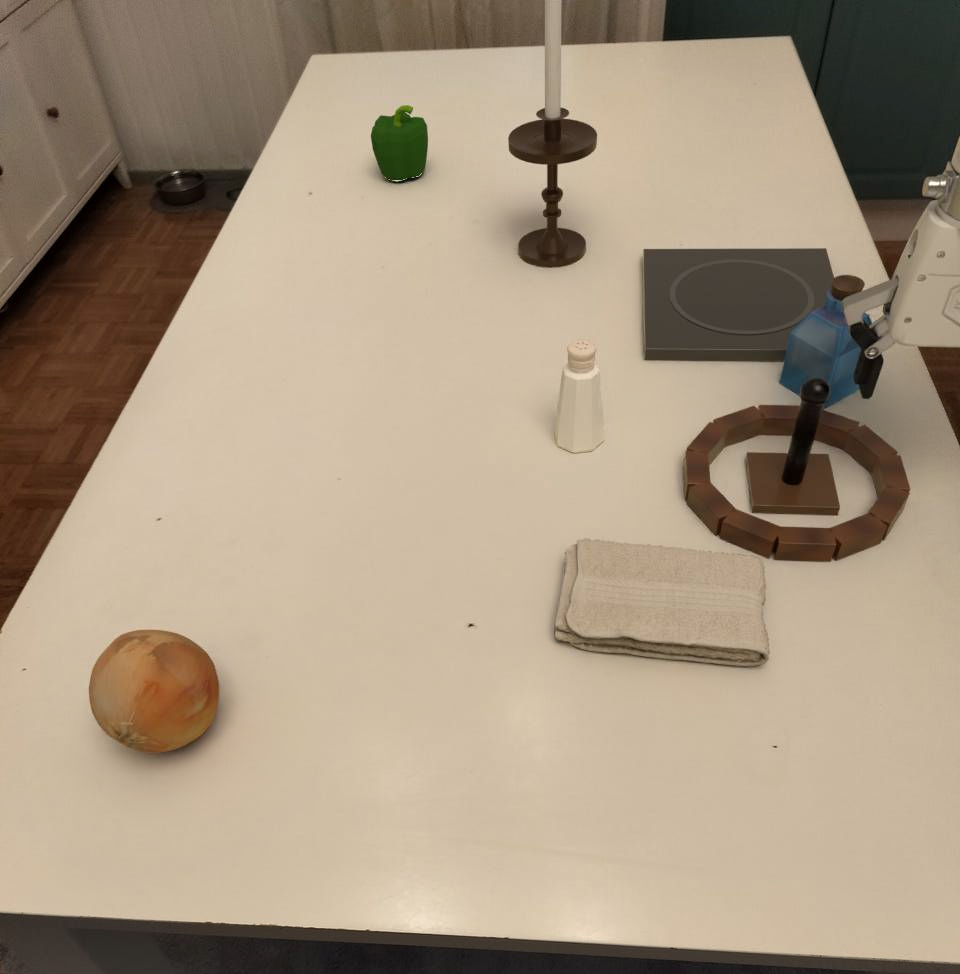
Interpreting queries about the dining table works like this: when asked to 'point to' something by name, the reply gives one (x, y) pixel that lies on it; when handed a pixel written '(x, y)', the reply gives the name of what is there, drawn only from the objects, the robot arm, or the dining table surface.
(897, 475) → the ring
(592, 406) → the pepper shaker
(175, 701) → the onion
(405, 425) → the dining table surface
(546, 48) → the candlestick
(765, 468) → the post
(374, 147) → the bell pepper
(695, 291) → the hob
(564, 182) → the dining table surface
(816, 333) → the perfume bottle
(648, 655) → the washcloth
